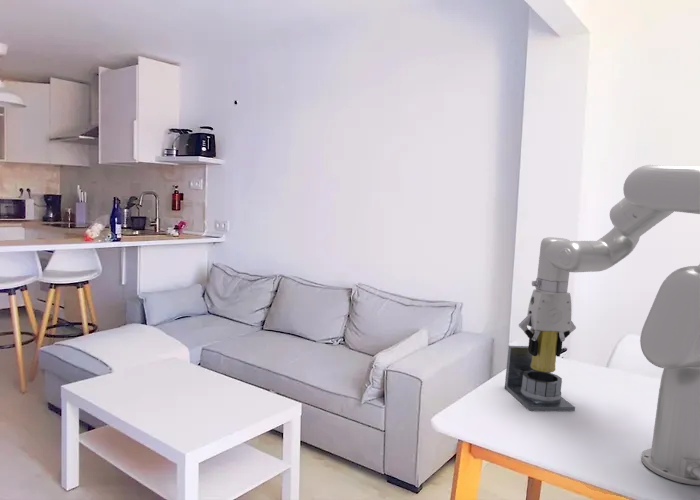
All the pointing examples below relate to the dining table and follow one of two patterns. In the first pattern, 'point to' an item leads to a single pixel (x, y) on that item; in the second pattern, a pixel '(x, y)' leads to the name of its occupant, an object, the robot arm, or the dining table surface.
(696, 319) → the robot arm
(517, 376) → the cup bracket
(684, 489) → the dining table surface
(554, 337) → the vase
